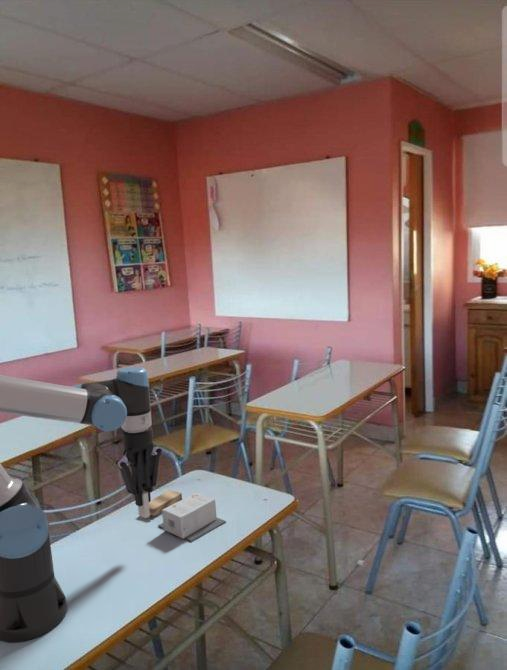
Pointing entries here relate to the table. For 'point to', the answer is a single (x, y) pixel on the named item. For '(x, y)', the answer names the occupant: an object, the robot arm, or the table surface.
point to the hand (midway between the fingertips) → (144, 515)
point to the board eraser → (163, 502)
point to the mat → (202, 529)
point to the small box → (189, 515)
